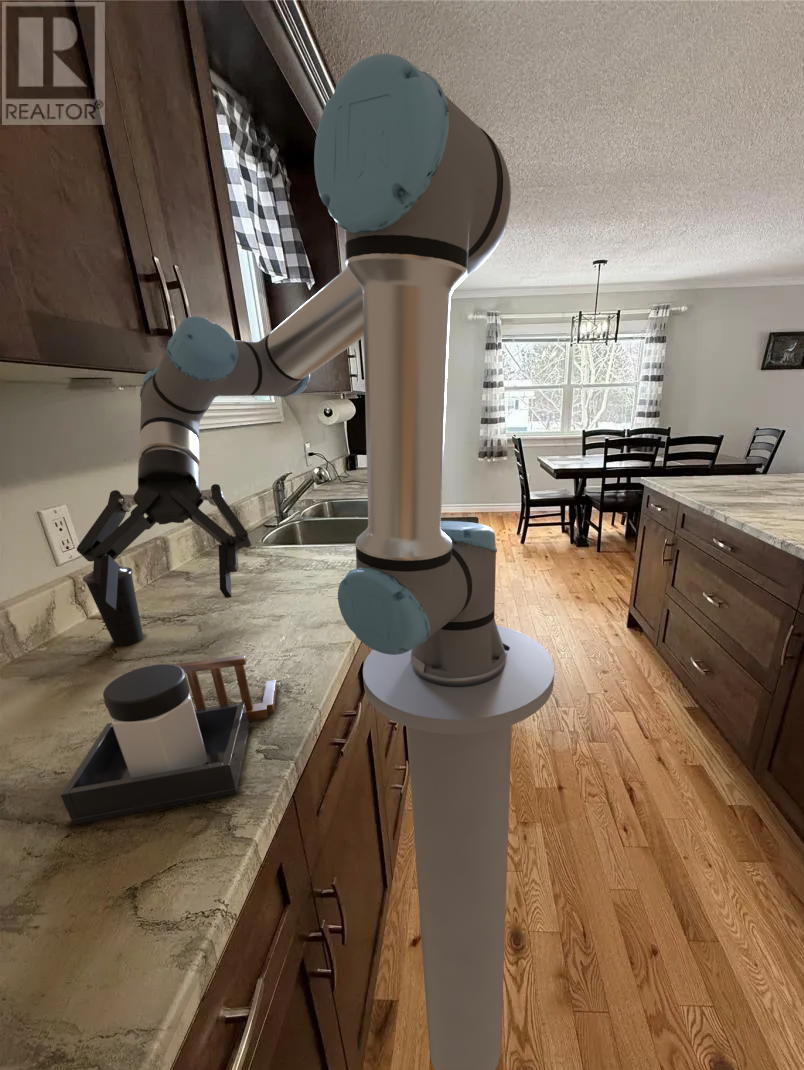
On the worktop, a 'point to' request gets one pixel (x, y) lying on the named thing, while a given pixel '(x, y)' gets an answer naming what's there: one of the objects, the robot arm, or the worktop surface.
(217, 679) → the drying rack
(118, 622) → the drinking cup
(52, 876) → the worktop surface
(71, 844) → the worktop surface
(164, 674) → the jar
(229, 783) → the rectangular tray
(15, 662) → the worktop surface
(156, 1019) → the worktop surface
